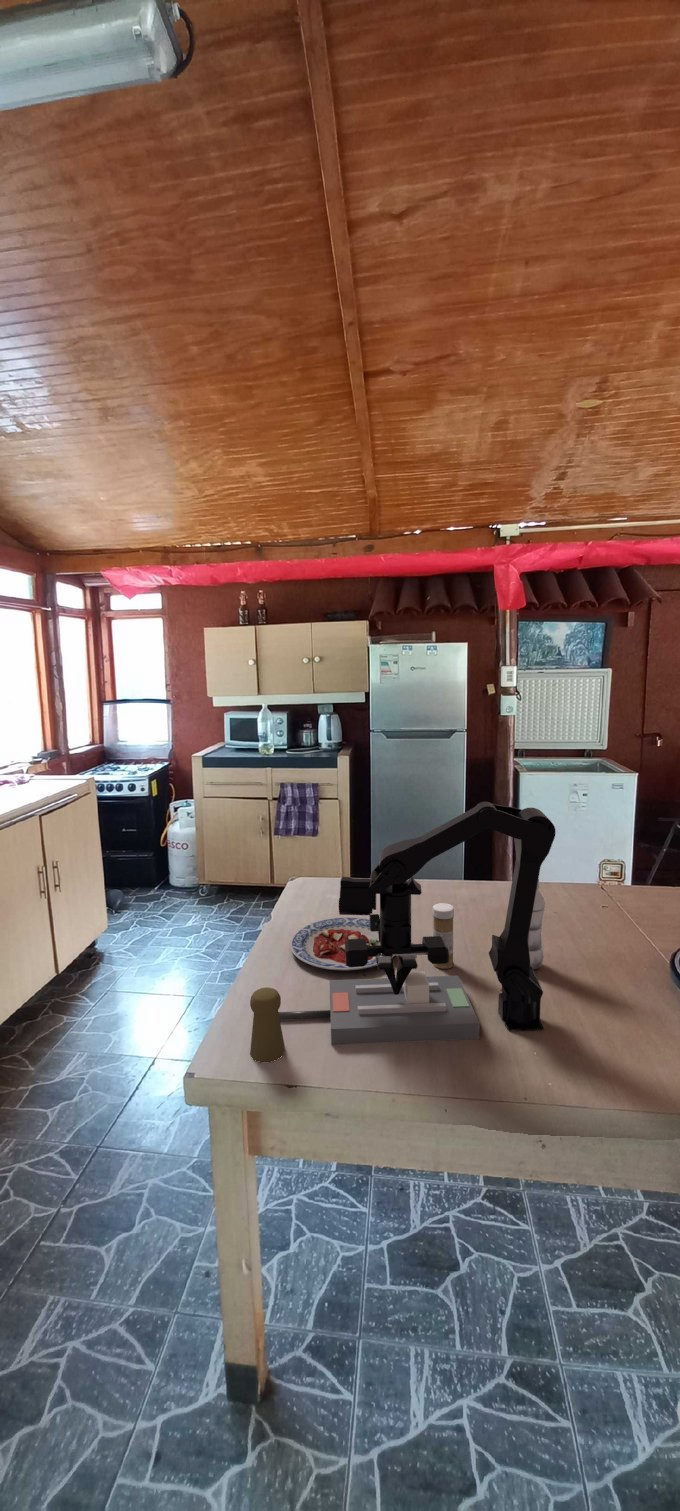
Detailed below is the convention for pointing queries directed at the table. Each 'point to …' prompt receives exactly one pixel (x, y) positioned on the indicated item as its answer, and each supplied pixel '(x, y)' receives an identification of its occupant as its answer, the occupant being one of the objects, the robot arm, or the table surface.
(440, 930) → the sprinkles bottle
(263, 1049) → the olive peg pawn
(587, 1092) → the table surface
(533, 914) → the plastic bottle
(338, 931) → the ceramic plate
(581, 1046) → the table surface
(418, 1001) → the switch knob
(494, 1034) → the table surface
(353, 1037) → the slider switch base
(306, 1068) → the table surface
